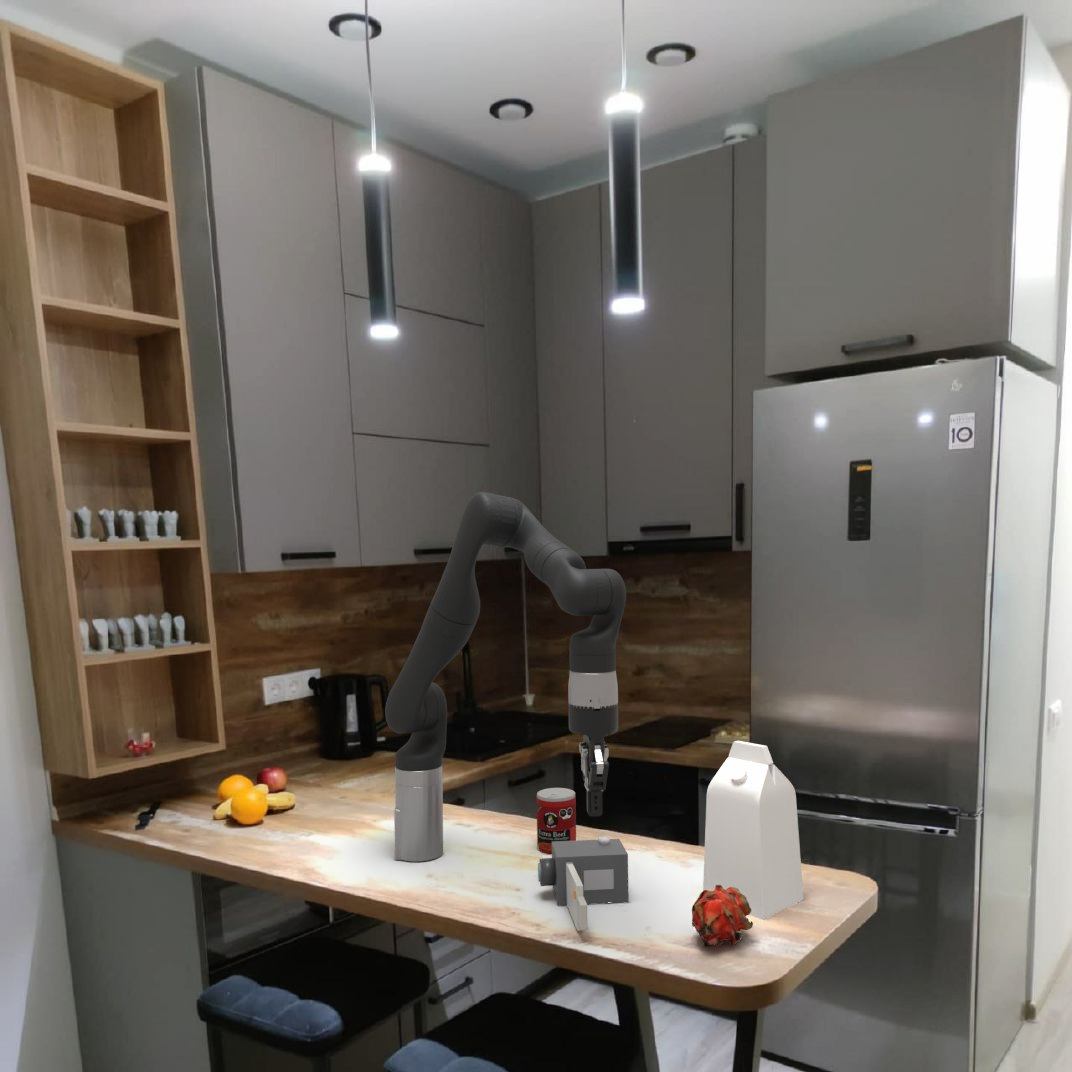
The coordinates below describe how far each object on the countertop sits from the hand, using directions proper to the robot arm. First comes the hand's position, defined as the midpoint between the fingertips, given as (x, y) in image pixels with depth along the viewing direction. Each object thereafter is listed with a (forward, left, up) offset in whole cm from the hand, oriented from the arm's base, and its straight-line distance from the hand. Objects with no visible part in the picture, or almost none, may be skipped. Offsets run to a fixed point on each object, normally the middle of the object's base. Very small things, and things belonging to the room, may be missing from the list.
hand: (594, 814), depth 132 cm
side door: (-2, +6, -18) cm, 20 cm away
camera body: (0, +17, -19) cm, 26 cm away
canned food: (-1, +41, -19) cm, 46 cm away
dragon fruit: (+19, -3, -19) cm, 27 cm away
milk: (+29, +12, -19) cm, 37 cm away
